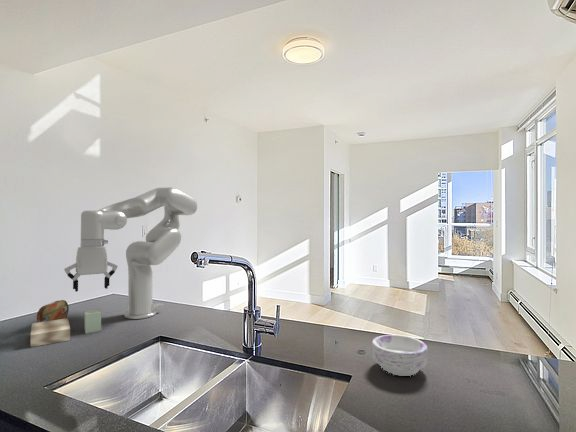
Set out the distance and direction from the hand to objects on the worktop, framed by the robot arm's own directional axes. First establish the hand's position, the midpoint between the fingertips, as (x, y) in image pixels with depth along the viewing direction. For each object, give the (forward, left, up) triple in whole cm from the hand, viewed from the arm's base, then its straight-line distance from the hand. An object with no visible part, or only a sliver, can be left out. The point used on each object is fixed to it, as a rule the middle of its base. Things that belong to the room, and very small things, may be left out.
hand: (91, 289), depth 129 cm
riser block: (+13, 0, -15) cm, 20 cm away
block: (0, 0, -16) cm, 16 cm away
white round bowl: (-69, +85, -16) cm, 111 cm away
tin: (+12, -17, -16) cm, 26 cm away
